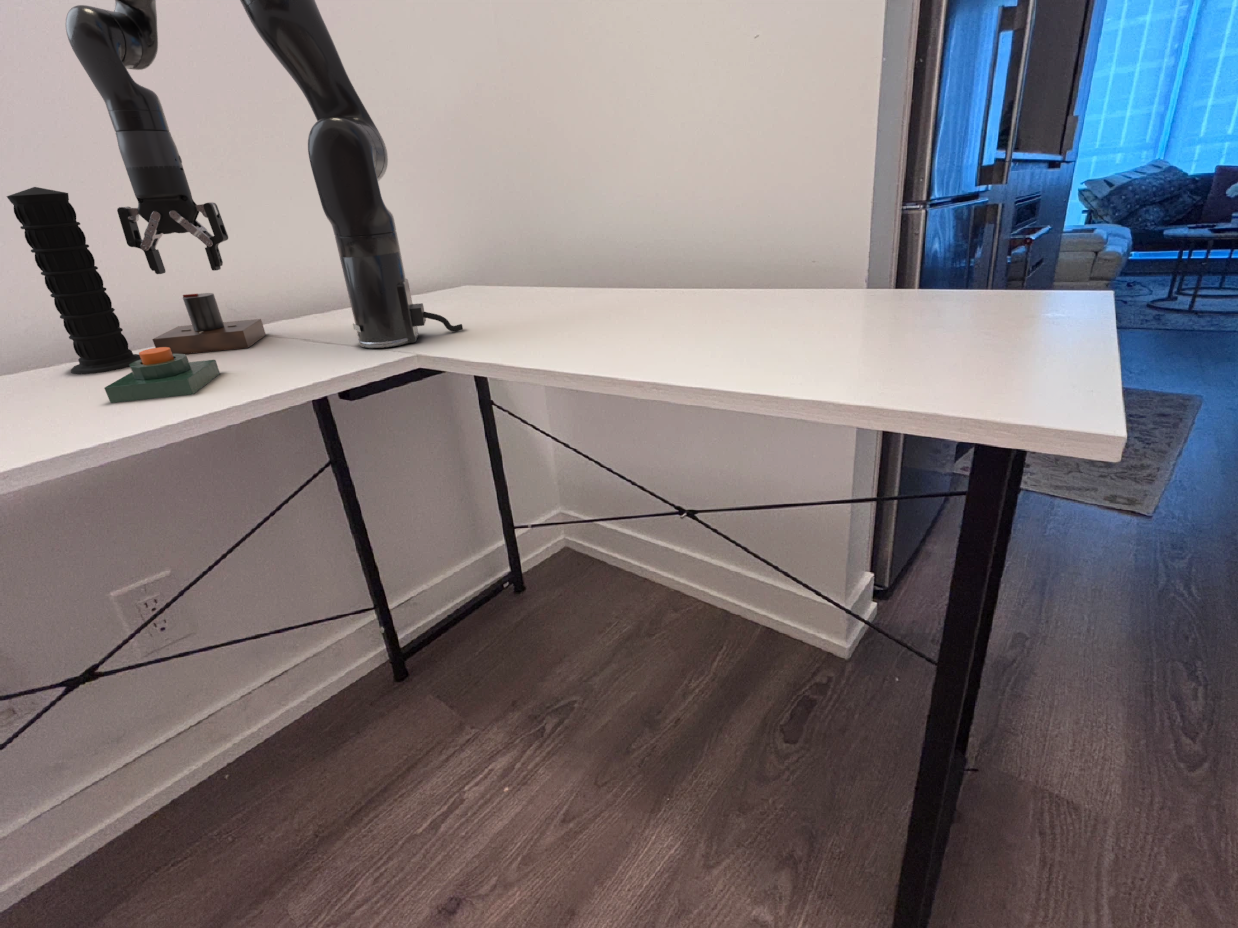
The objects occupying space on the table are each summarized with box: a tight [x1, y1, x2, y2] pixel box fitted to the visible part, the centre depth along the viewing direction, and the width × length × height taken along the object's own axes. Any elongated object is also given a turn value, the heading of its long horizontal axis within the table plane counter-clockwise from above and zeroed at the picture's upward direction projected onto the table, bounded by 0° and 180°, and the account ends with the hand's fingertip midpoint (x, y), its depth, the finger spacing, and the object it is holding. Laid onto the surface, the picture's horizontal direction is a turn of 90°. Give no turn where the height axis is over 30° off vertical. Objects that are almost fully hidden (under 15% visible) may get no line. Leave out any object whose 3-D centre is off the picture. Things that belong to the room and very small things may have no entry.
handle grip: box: [6, 186, 141, 376], centre depth 95 cm, size 10×26×10 cm
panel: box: [152, 318, 267, 355], centre depth 109 cm, size 14×10×3 cm
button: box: [138, 347, 174, 365], centre depth 85 cm, size 4×4×2 cm
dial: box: [182, 292, 224, 331], centre depth 107 cm, size 5×5×6 cm
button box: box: [103, 354, 221, 404], centre depth 86 cm, size 10×10×4 cm
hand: (189, 271), depth 104 cm, fingers open, 8 cm apart
